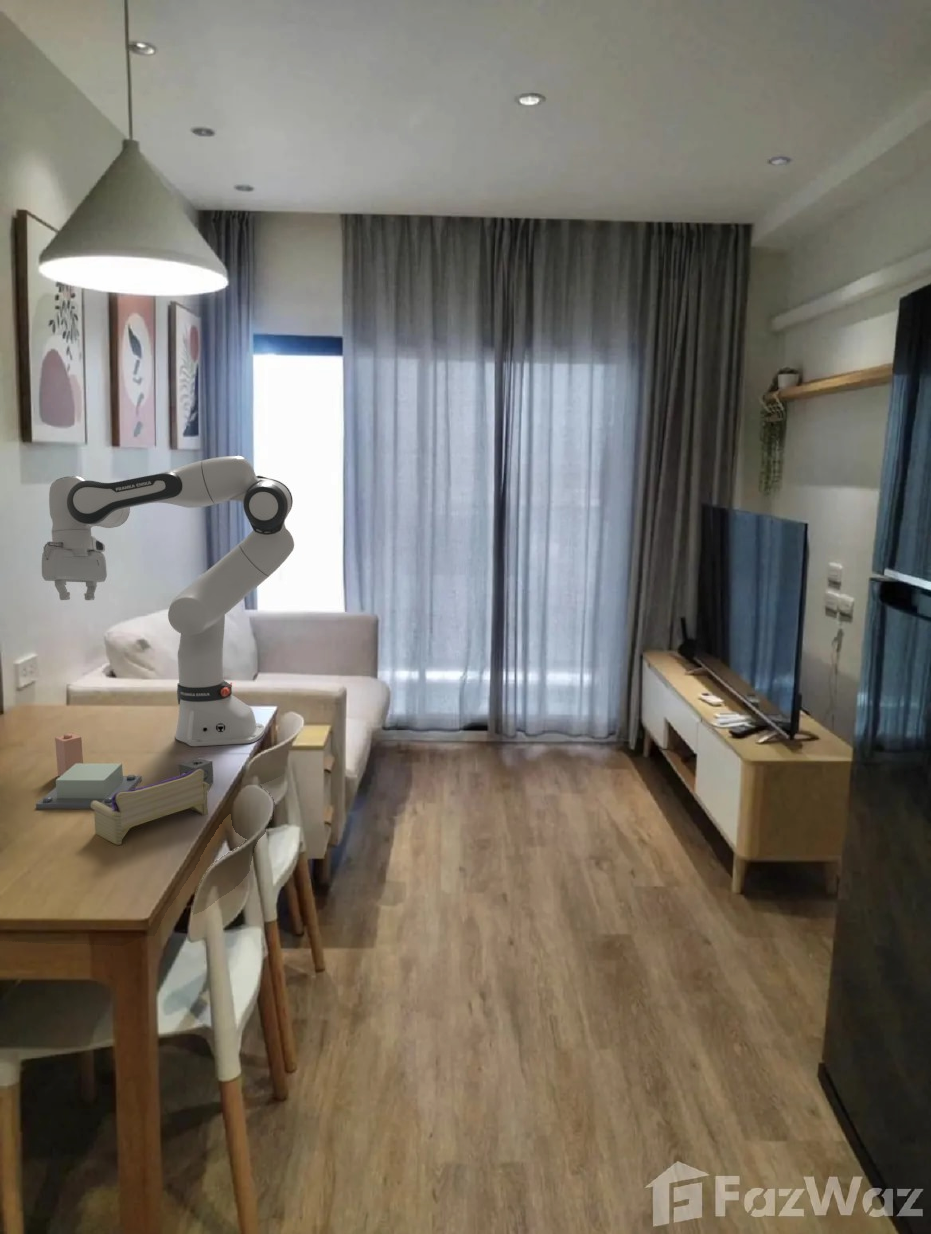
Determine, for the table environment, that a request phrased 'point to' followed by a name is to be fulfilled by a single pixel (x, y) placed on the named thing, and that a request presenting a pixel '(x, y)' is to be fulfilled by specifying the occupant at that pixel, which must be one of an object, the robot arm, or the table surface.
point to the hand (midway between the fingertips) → (77, 600)
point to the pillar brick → (68, 752)
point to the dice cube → (198, 764)
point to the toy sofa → (150, 804)
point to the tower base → (85, 802)
